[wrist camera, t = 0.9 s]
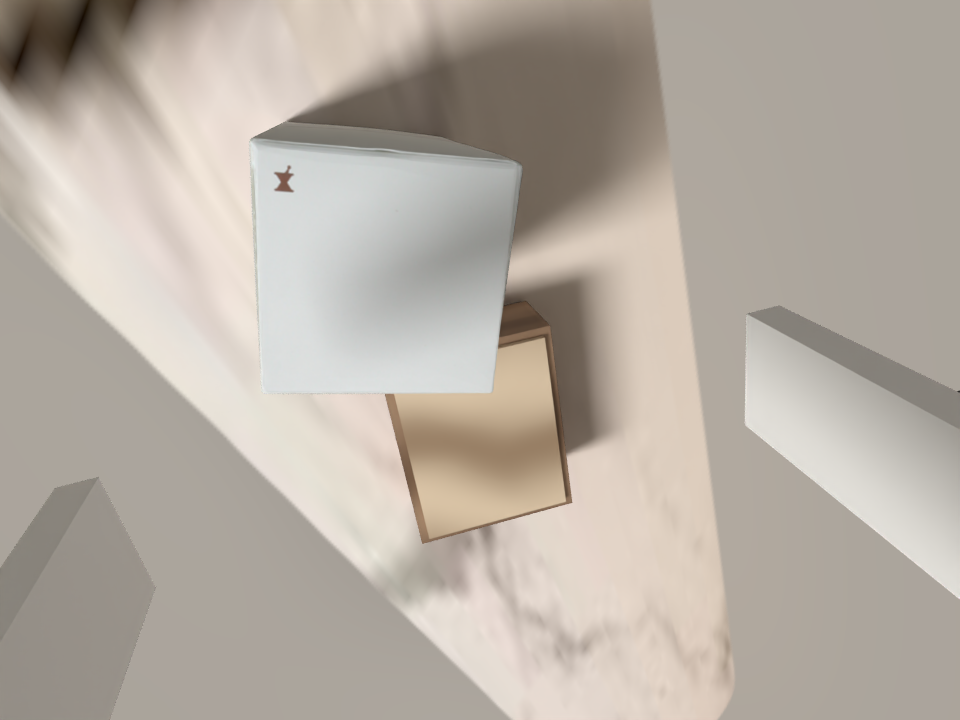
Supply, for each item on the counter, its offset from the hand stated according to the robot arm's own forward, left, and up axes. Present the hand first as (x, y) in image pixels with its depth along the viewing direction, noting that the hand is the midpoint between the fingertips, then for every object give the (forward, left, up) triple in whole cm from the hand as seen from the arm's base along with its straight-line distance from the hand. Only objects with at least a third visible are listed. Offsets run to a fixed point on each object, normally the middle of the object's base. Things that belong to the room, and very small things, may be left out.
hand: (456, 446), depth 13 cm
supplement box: (-2, -1, -19) cm, 19 cm away
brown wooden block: (+9, +2, -19) cm, 21 cm away
